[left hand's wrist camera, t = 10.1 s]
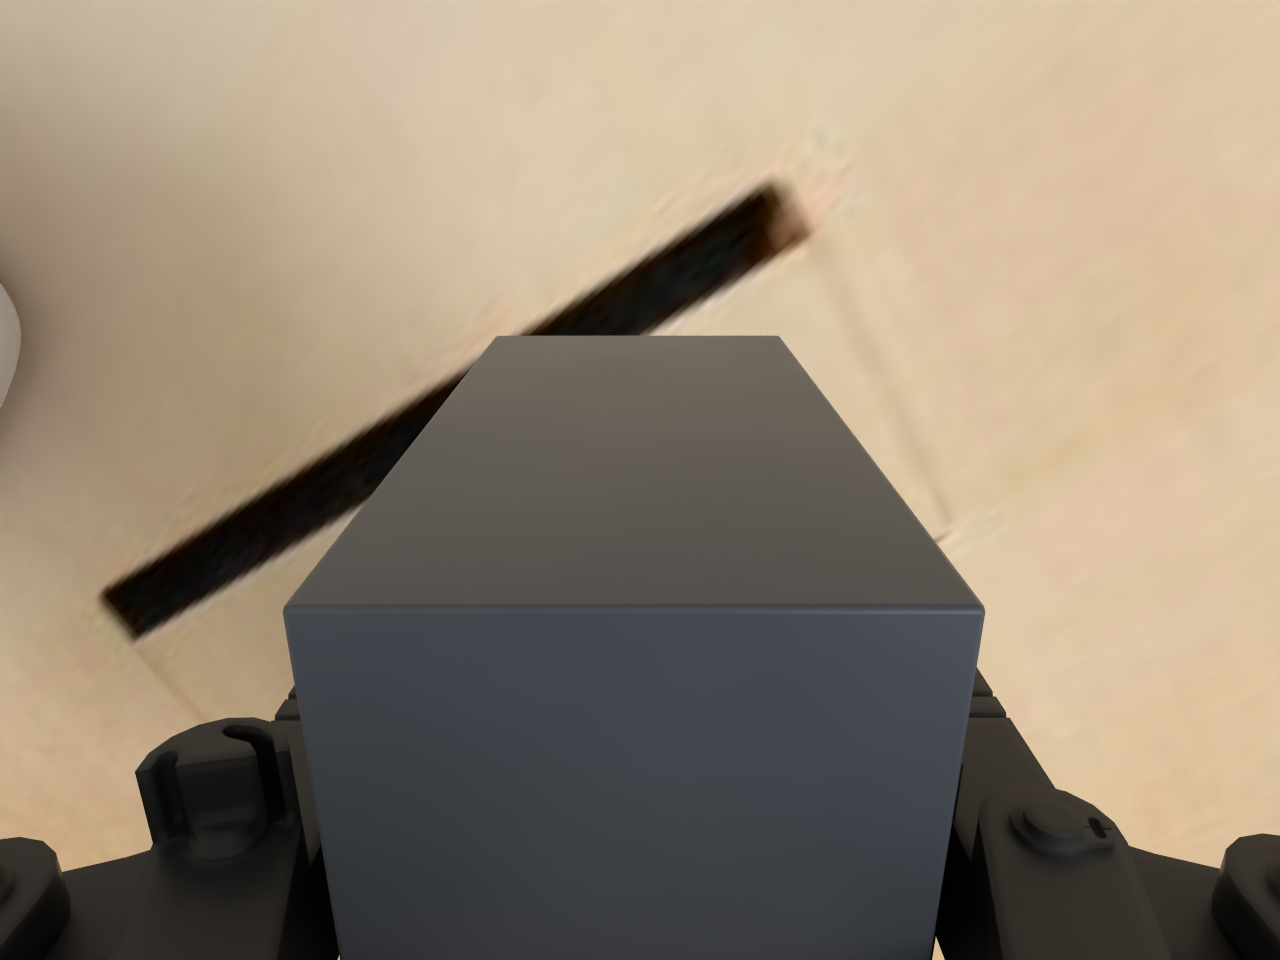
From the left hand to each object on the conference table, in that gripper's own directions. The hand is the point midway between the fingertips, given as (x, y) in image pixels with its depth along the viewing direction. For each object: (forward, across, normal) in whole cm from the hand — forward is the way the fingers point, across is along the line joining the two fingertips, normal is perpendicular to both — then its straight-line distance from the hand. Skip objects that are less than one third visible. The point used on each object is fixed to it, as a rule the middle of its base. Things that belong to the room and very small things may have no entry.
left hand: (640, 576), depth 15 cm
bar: (+1, 0, -7) cm, 7 cm away
